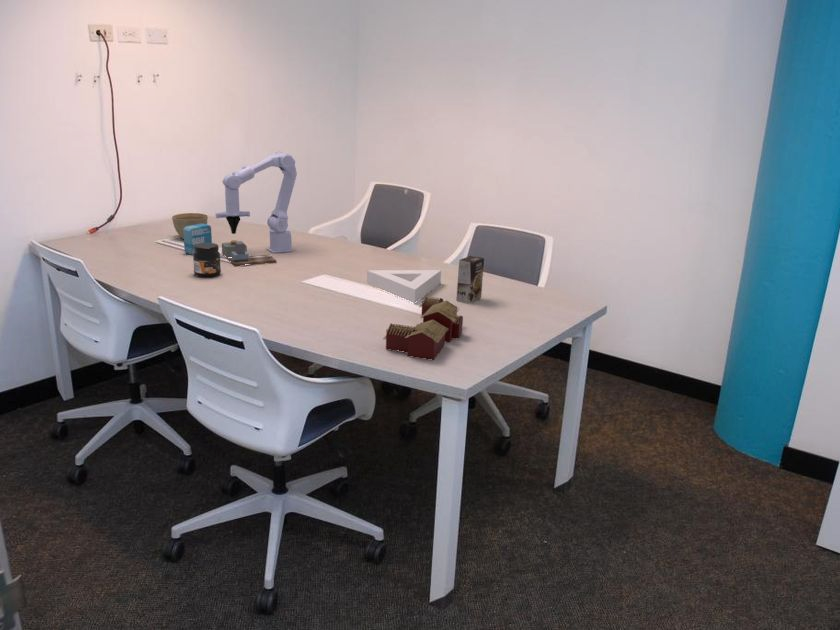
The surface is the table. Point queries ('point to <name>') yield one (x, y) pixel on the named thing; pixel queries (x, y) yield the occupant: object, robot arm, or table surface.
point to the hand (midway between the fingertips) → (233, 233)
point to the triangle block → (405, 282)
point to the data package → (196, 236)
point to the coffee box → (470, 279)
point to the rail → (254, 260)
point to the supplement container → (206, 260)
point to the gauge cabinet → (229, 249)
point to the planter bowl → (188, 221)
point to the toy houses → (427, 330)
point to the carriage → (239, 252)
